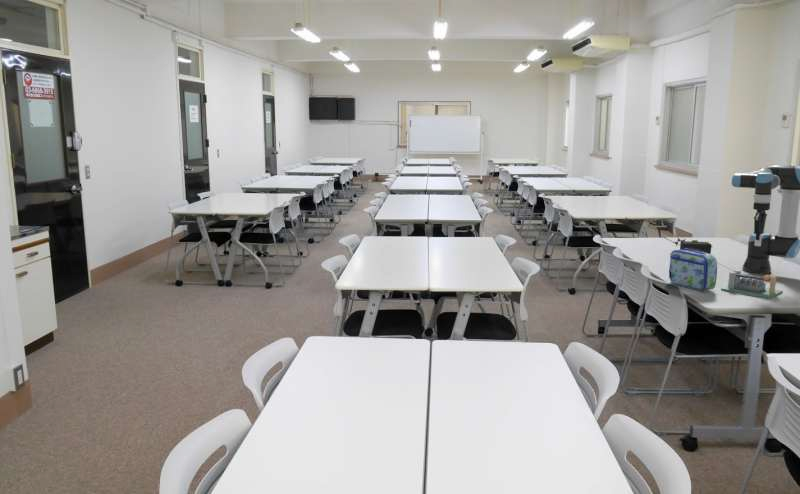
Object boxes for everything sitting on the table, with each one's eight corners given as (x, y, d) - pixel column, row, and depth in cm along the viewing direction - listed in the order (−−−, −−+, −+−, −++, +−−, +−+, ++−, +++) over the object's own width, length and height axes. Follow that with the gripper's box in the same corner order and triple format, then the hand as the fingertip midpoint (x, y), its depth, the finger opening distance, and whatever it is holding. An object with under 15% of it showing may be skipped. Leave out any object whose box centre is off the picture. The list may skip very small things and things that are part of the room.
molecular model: (669, 255, 415) (671, 233, 410) (689, 256, 410) (691, 234, 406) (669, 267, 394) (671, 244, 389) (690, 268, 389) (692, 245, 384)
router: (711, 275, 358) (714, 242, 354) (678, 274, 361) (681, 241, 358) (707, 272, 366) (710, 240, 362) (675, 271, 369) (678, 239, 365)
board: (734, 284, 338) (736, 266, 336) (782, 292, 320) (784, 274, 318) (721, 290, 326) (722, 272, 324) (770, 299, 308) (772, 280, 306)
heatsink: (742, 285, 330) (744, 276, 329) (765, 289, 322) (766, 279, 321) (736, 289, 324) (737, 279, 323) (758, 293, 316) (759, 283, 315)
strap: (738, 275, 329) (739, 271, 328) (771, 279, 317) (771, 275, 316) (735, 276, 326) (736, 272, 325) (768, 280, 314) (768, 276, 314)
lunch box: (665, 282, 343) (667, 246, 339) (679, 280, 347) (682, 245, 343) (701, 293, 319) (705, 255, 315) (717, 291, 323) (720, 253, 319)
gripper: (758, 200, 323) (753, 242, 328) (750, 203, 314) (745, 246, 319) (773, 201, 318) (769, 244, 323) (766, 204, 309) (761, 248, 314)
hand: (757, 245), depth 321 cm, fingers closed
